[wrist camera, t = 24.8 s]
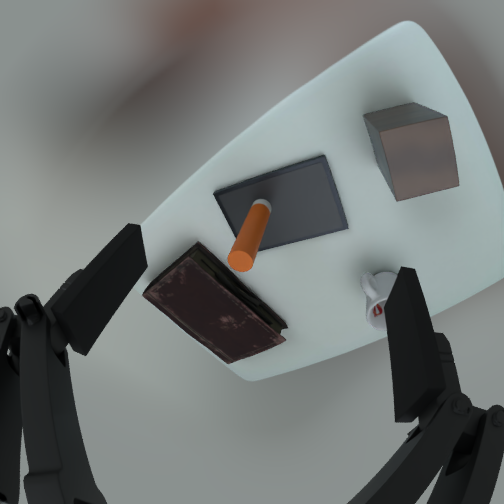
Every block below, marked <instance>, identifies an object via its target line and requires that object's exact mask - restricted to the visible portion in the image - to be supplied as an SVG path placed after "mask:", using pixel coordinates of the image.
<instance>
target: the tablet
mask: <svg viewBox="0 0 504 504" xmlns="http://www.w3.org/2000/svg"><path fill="white" fill-rule="evenodd" d="M213 195H214V197H215V199H216V201H217V202H218V204H219V206H220V208H221V210H222V212H223V214H224V216H225V218H226V220H227V222H228V224H229V226H230V228H231V230H232V232H233V234H234V236H235V237H236V238H237V236H238V234H239V232H240V230H241V228H242V226H243V223H244V221H245V219H246V217H247V215H248V213H249V211H250V209H251V207H252V205H253V203H254V201H256V200H258V199H264V200H267V201H268V202H269V203H270V205H271V208H272V210H271V213H270V216H269V219H268V222H267V225H266V228H265V231H264V234H263V237H262V240H261V243H260V245H259V248H258V251H262V250H266V249H270V248H274V247H278V246H282V245H286V244H290V243H294V242H298V241H302V240H306V239H310V238H314V237H317V236H321V235H325V234H329V233H333V232H337V231H341V230H345V229H348V224H347V220H346V217H345V214H344V211H343V207H342V204H341V201H340V198H339V195H338V192H337V189H336V186H335V183H334V180H333V177H332V174H331V171H330V168H329V165H328V162H327V160H326V157H325V155H322V156H319V157H316V158H312V159H309V160H306V161H303V162H299V163H296V164H293V165H290V166H287V167H284V168H281V169H278V170H275V171H272V172H269V173H266V174H263V175H260V176H257V177H254V178H251V179H248V180H245V181H243V182H240V183H237V184H234V185H231V186H229V187H226V188H223V189H220V190H218V191H215V192H214V193H213ZM258 251H257V252H258Z"/></svg>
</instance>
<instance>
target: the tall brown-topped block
mask: <svg viewBox="0 0 504 504" xmlns="http://www.w3.org/2000/svg"><path fill="white" fill-rule="evenodd" d="M363 118H364V121H365V124H366V127H367V130H368V133H369V136H370V140H371V143H372V146H373V150H374V153H375V156H376V160H377V164H378V167H379V169H380V171H381V173H382V174H383V176H384V178H385V180H386V182H387V184H388V186H389V188H390V189H391V191H392V193H393V195H394V197H395V199H396V201H401V200H405V199H409V198H413V197H417V196H421V195H425V194H429V193H433V192H437V191H441V190H445V189H449V188H453V187H457V186H459V178H458V171H457V164H456V157H455V151H454V146H453V140H452V135H451V130H450V126H449V121H448V117H447V116H446V115H443V114H441V113H439V112H437V111H434V110H432V109H430V108H427V107H425V106H422V105H420V104H417V103H415V102H414V103H409V104H405V105H400V106H396V107H392V108H388V109H384V110H380V111H376V112H372V113H368V114H364V115H363Z"/></svg>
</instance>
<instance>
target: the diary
mask: <svg viewBox="0 0 504 504" xmlns="http://www.w3.org/2000/svg"><path fill="white" fill-rule="evenodd" d="M142 296H143V297H144V298H146V299H147V300H148V301H149V302H150V303H152V304H153V305H154V306H155V307H157V308H158V309H159V310H160V311H162V312H163V313H164V314H165V315H167V316H168V317H169V318H170V319H171V320H172V321H174V322H175V323H176V324H177V325H178V326H179V327H181V328H182V329H183V330H184V331H185V332H186V333H188V334H189V335H190V336H192V337H193V338H194V339H196V340H197V341H198V342H200V343H201V344H203V345H204V346H205V347H207V348H208V349H209V350H211V351H212V352H213V353H214V354H216V355H217V356H218V357H219V358H221V359H222V360H223V361H224V362H226V363H227V364H230V363H233V362H235V361H238V360H241V359H244V358H247V357H250V356H253V355H255V354H258V353H260V352H263V351H265V350H268V349H270V348H272V347H274V346H277V345H279V344H281V343H283V342H284V341H286V339H285V338H284V337H283V336H281V335H280V333H281V330H282V329H286V328H288V327H287V325H286V324H285V323H284V322H283V321H282V320H281V319H280V318H279V317H278V316H277V315H276V314H275V313H274V312H273V311H272V310H271V309H270V308H269V307H268V306H267V305H266V304H264V303H263V302H262V301H261V300H260V299H259V298H257V297H256V296H255V295H254V294H253V293H252V292H250V291H249V290H248V289H247V288H246V287H245V286H244V285H243V284H242V283H241V282H240V281H239V280H238V279H237V278H236V276H235V275H234V274H233V273H232V272H231V271H230V270H229V269H228V268H227V267H226V266H225V265H224V264H223V263H222V262H220V261H219V260H218V259H217V258H216V257H215V256H214V255H213V254H211V253H210V252H209V251H208V250H207V249H206V248H205V247H204V246H202V245H201V244H200V243H199V242H197V243H196V244H195V245H194V246H193V247H191V248H190V249H189V250H188V251H187V252H185V253H184V254H183V255H182V256H181V257H180V258H178V259H177V260H176V261H175V262H174V263H173V264H171V265H170V266H169V267H168V268H167V269H166V270H164V271H163V272H162V273H161V274H160V275H159V276H157V277H156V278H155V279H154V280H153V281H152V282H151V283H150V284H149V285H148V286H147V288H146V289H145V291H144V292H143V294H142Z"/></svg>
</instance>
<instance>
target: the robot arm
mask: <svg viewBox="0 0 504 504" xmlns="http://www.w3.org/2000/svg"><path fill="white" fill-rule="evenodd" d="M147 267H148V265H147V260H146V255H145V249H144V244H143V238H142V232H141V226H140V225H137V224H130V223H128V224H127V225H126V226H125V227H124V228H123V229H122V230H121V231H120V232H119V233H118V234H117V235H116V236H115V237H114V238H113V239H112V240H111V241H110V242H109V243H108V244H107V245H106V246H105V247H104V248H103V249H102V250H101V252H100V253H99V254H98V255H97V256H96V257H95V258H94V259H93V260H92V261H91V262H90V263H89V264H88V265H87V266H86V268H85V269H84V270H82V269H79V270H78V271H76V272H75V273H73V274H72V275H71V276H70V277H69V278H68V279H67V280H66V281H65V283H63V285H62V286H61V287H60V289H58V290H57V292H56V293H55V294H54V295H53V296H52V297H51V298H50V300H49V301H48V302H47V303H46V304H45V305H44V307H43V306H42V304H41V302H40V300H39V298H38V297H37V296H36V295H34V294H27V295H25V296H23V297H21V298H20V299H19V300H18V301H17V302H16V304H15V306H14V309H15V311H16V313H17V315H14V313H13V311H12V310H11V309H10V308H9V307H2V308H0V504H18V501H19V490H20V451H21V437H22V426H23V433H24V441H25V448H26V455H27V461H28V465H29V473H28V474H27V475H26V476H25V477H24V480H23V481H24V489H25V493H26V497H27V501H28V504H107V502H106V500H105V498H104V496H103V494H102V493H101V492H100V490H99V489H98V488H97V486H96V484H95V481H94V478H93V475H92V472H91V468H90V465H89V462H88V458H87V455H86V451H85V447H84V443H83V439H82V435H81V430H80V426H79V422H78V417H77V412H76V407H75V401H74V396H73V389H72V383H71V377H70V368H69V360H68V352H67V350H66V348H65V347H66V346H67V345H68V343H69V344H70V345H71V347H72V349H73V350H74V351H75V352H77V353H80V354H82V355H84V356H86V355H87V354H88V352H89V351H90V349H91V348H92V346H93V344H94V343H95V341H96V339H97V338H98V337H99V335H100V334H101V332H102V331H103V329H104V328H105V326H106V325H107V323H108V322H109V321H110V319H111V318H112V316H113V315H114V313H115V312H116V310H117V309H118V308H119V306H120V305H121V303H122V302H123V300H124V299H125V297H126V296H127V295H128V293H129V292H130V291H131V289H132V288H133V286H134V285H135V284H136V282H137V281H138V280H139V278H140V277H141V275H142V274H143V273H144V271H145V270H146V269H147ZM384 314H385V320H386V327H387V335H388V342H389V351H390V360H391V369H392V380H393V394H394V411H395V422H405V423H406V422H412V421H414V420H415V419H416V418H417V417H418V418H419V424H418V425H417V426H416V427H415V428H414V429H413V430H411V431H410V432H409V433H408V435H409V436H408V438H407V439H406V440H405V442H404V443H403V444H402V445H401V447H400V448H399V449H398V450H397V451H396V453H395V454H394V455H393V456H392V457H391V459H390V460H389V461H388V462H387V463H386V464H385V466H384V467H383V468H382V469H381V470H380V471H379V472H378V473H377V474H376V476H375V477H373V478H372V480H371V481H370V482H369V483H368V484H367V485H366V486H365V487H364V488H363V489H362V490H361V491H360V492H359V493H358V494H357V495H356V496H355V497H354V498H353V499H352V500H351V501H349V502H348V503H347V504H415V503H416V502H417V500H418V499H419V498H420V496H421V495H422V494H423V493H424V491H425V490H426V489H427V487H428V486H429V484H430V483H431V481H432V480H433V479H434V477H435V476H436V474H437V473H438V471H439V470H440V469H441V467H442V466H443V467H442V469H441V472H440V474H439V477H438V480H437V482H436V484H435V486H434V489H433V491H432V493H431V495H430V498H429V500H428V502H427V504H489V503H490V500H491V497H492V494H493V491H494V488H495V485H496V481H497V478H498V473H499V470H500V466H501V462H502V458H503V453H504V408H503V407H502V406H500V405H494V406H492V407H491V408H489V409H488V410H484V409H481V408H478V407H474V406H472V403H471V401H470V399H469V398H468V397H467V396H466V395H465V394H463V393H462V392H461V389H460V384H459V379H458V375H457V370H456V366H455V363H454V358H453V355H452V351H451V347H450V343H449V341H448V340H447V338H446V337H445V335H444V334H443V333H436V332H434V330H433V326H432V322H431V319H430V315H429V312H428V308H427V305H426V302H425V298H424V295H423V292H422V289H421V286H420V283H419V280H418V277H417V274H416V271H415V269H413V268H407V267H401V268H400V270H399V273H398V275H397V278H396V280H395V283H394V285H393V287H392V290H391V292H390V294H389V297H388V299H387V301H386V303H385V306H384ZM8 349H9V350H10V353H9V355H7V351H8Z"/></svg>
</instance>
